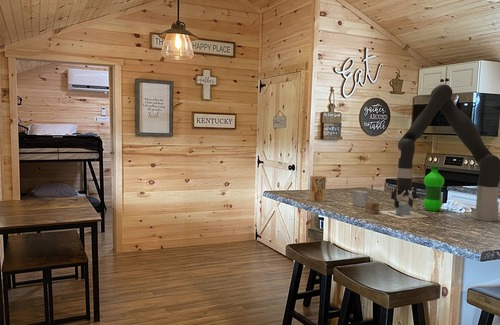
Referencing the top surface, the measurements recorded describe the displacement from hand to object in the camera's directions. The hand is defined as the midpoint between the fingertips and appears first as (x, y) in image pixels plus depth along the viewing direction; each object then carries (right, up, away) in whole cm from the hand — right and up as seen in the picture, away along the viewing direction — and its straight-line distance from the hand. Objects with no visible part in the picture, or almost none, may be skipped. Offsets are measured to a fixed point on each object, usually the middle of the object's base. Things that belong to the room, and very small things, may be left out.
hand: (403, 207), depth 220 cm
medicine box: (-17, -2, +23) cm, 29 cm away
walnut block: (-16, -4, +1) cm, 17 cm away
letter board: (0, -4, 0) cm, 4 cm away
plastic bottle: (+22, -3, +15) cm, 27 cm away
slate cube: (0, -4, 0) cm, 4 cm away
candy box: (-39, 0, +40) cm, 56 cm away
